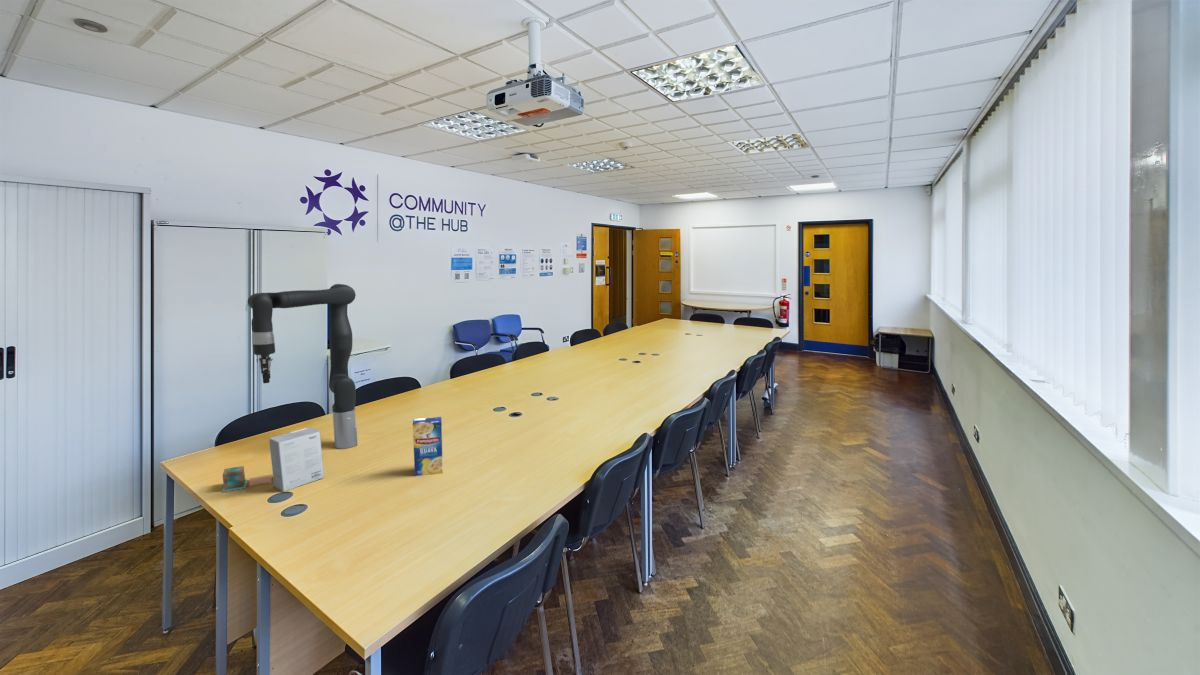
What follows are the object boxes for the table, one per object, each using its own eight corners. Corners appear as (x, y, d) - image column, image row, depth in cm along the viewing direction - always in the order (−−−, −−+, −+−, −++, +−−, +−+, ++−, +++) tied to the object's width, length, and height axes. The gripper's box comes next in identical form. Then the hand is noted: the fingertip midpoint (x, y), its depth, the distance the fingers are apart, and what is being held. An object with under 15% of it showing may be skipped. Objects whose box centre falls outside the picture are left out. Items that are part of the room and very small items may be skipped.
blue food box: (415, 469, 207) (413, 418, 203) (443, 466, 210) (441, 416, 206) (414, 476, 200) (412, 424, 197) (442, 473, 203) (441, 422, 200)
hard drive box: (315, 473, 201) (311, 426, 198) (324, 478, 197) (321, 430, 194) (272, 487, 188) (268, 437, 185) (282, 492, 184) (277, 441, 181)
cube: (245, 480, 192) (243, 465, 191) (243, 486, 187) (242, 471, 186) (225, 483, 189) (224, 468, 188) (223, 490, 184) (222, 474, 183)
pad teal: (246, 481, 193) (246, 479, 193) (245, 488, 187) (245, 486, 187) (224, 485, 189) (224, 483, 189) (222, 492, 183) (222, 490, 183)
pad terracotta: (271, 475, 198) (271, 474, 198) (270, 482, 192) (270, 481, 192) (250, 479, 194) (250, 478, 194) (248, 486, 188) (248, 485, 188)
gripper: (273, 344, 198) (277, 383, 200) (275, 339, 210) (278, 376, 212) (251, 345, 194) (254, 385, 196) (253, 340, 206) (257, 378, 208)
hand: (266, 380), depth 204 cm, fingers open, 8 cm apart
